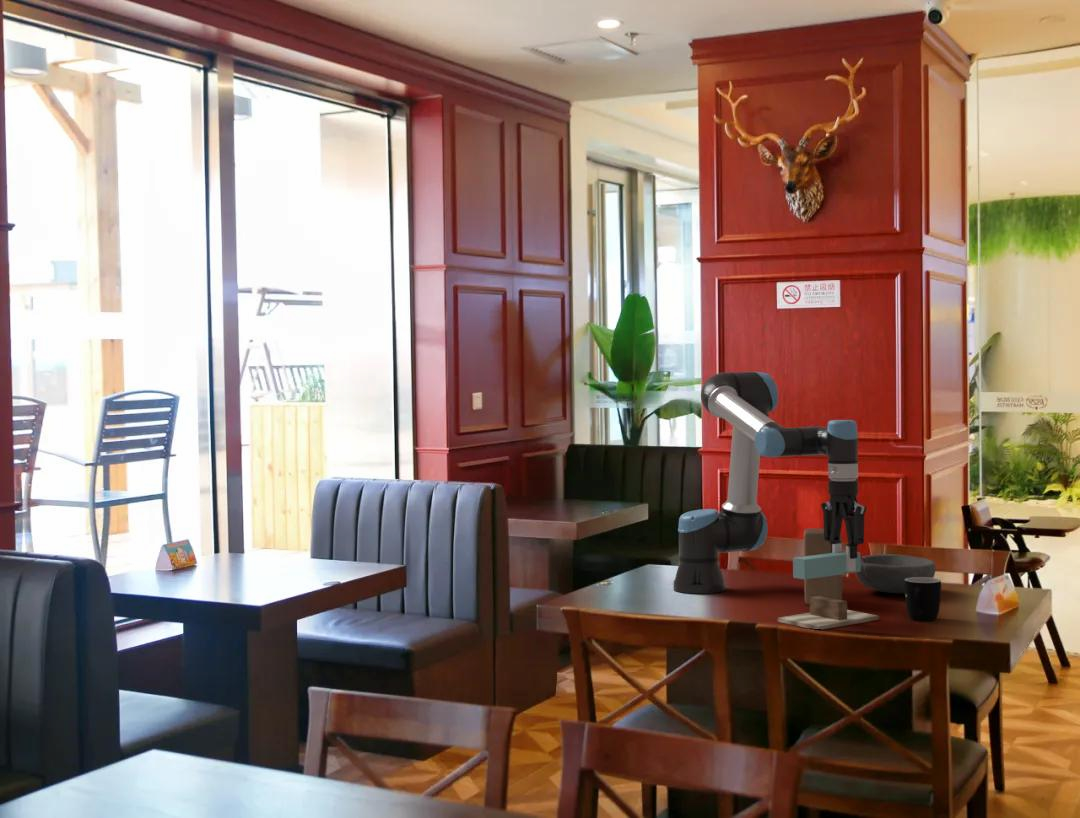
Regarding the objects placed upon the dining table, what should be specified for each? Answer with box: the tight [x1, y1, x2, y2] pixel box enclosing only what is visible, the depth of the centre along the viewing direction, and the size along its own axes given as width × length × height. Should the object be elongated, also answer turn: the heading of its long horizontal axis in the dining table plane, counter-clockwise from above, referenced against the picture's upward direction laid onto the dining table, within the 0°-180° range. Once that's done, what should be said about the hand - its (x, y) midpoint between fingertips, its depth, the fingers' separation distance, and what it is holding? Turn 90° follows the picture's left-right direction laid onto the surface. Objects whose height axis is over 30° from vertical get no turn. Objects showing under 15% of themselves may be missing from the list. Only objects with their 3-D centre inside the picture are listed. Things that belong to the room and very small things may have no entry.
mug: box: [904, 577, 942, 622], centre depth 321 cm, size 12×9×10 cm
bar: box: [792, 550, 861, 580], centre depth 322 cm, size 4×20×5 cm, turn 123°
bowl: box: [854, 553, 937, 595], centre depth 361 cm, size 23×22×10 cm
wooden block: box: [803, 528, 843, 606], centre depth 348 cm, size 10×10×20 cm
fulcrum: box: [777, 596, 880, 630], centre depth 322 cm, size 14×22×6 cm, turn 124°
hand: (844, 569), depth 325 cm, fingers closed on bar, 4 cm apart
